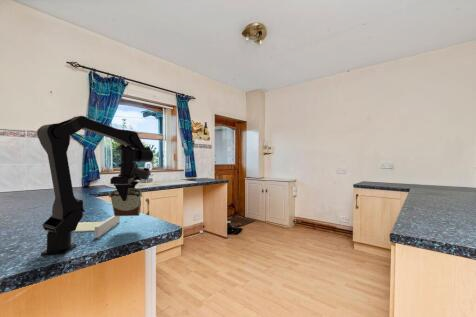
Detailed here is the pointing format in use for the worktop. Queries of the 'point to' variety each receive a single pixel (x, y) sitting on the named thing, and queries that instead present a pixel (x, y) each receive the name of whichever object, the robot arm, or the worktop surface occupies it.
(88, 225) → the resting mat
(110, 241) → the worktop surface
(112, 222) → the low wall
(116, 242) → the worktop surface
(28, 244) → the worktop surface
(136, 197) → the food container
